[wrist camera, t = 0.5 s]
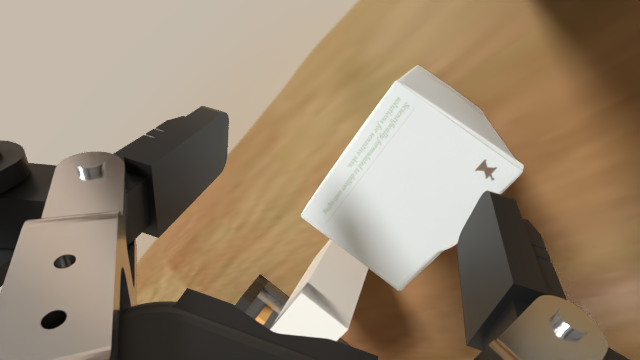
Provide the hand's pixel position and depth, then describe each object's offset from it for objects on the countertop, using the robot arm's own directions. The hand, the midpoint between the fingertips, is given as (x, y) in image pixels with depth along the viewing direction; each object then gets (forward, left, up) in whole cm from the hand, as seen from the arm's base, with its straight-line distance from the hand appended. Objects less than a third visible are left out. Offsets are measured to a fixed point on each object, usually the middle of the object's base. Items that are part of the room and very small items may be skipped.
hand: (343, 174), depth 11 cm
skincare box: (+1, +2, -20) cm, 20 cm away
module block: (+15, +4, -20) cm, 25 cm away
